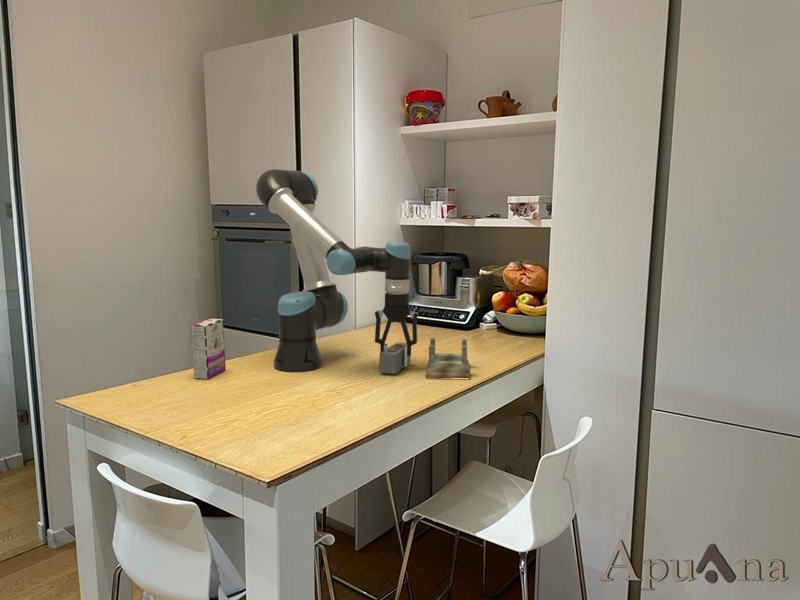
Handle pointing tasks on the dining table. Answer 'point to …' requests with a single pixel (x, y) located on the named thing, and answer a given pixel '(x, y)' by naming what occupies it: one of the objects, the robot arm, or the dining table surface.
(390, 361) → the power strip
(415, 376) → the dining table surface
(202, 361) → the candy bar box
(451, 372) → the rack
